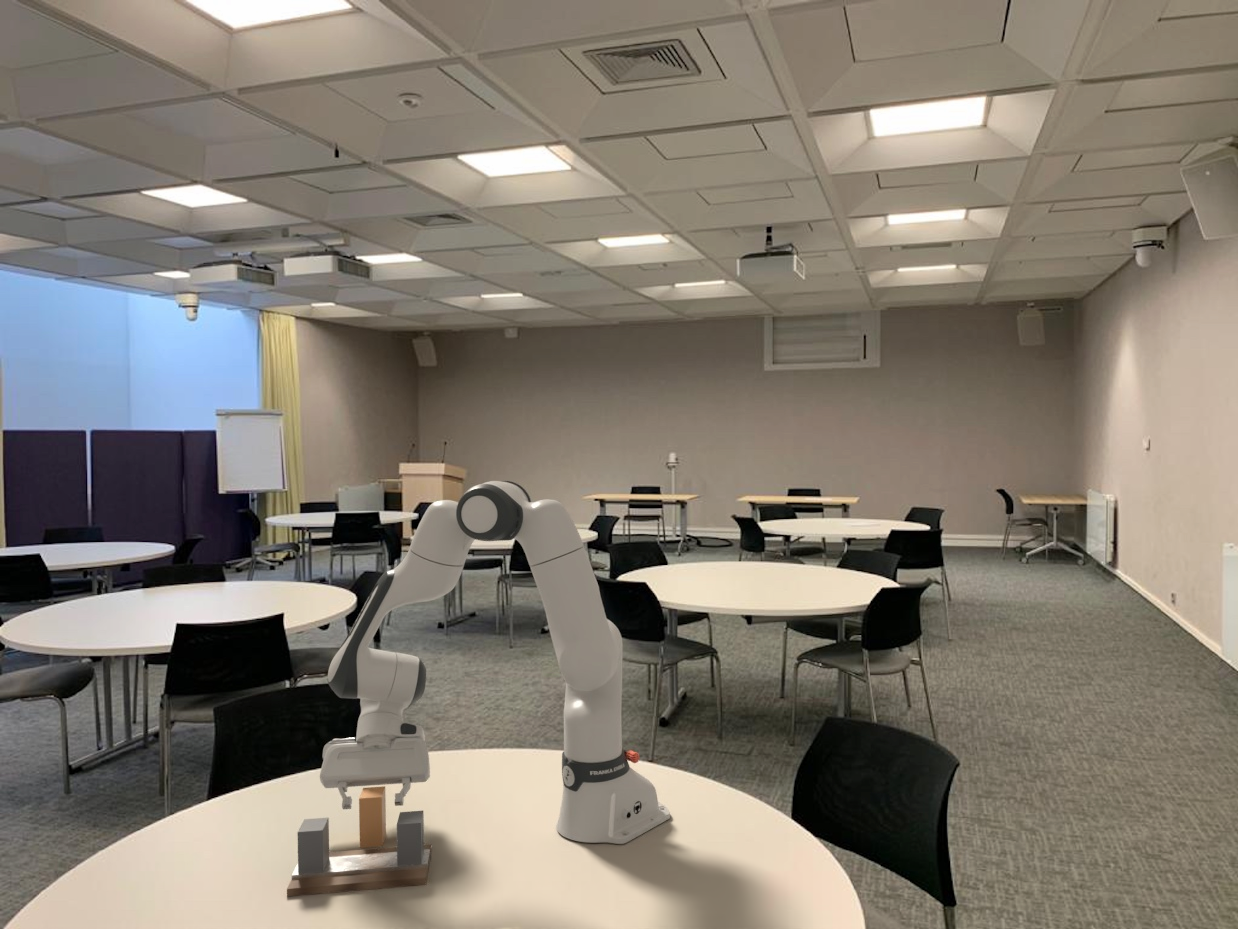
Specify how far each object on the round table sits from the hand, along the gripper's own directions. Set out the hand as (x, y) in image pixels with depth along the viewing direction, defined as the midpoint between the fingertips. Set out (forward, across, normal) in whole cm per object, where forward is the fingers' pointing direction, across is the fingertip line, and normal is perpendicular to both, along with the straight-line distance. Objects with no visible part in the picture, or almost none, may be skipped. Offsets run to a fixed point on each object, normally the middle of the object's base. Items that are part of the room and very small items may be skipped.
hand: (372, 806), depth 155 cm
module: (+5, 0, +4) cm, 6 cm away
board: (+13, 0, -5) cm, 14 cm away
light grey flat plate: (+12, 0, -6) cm, 14 cm away
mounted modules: (+12, 0, -6) cm, 13 cm away
